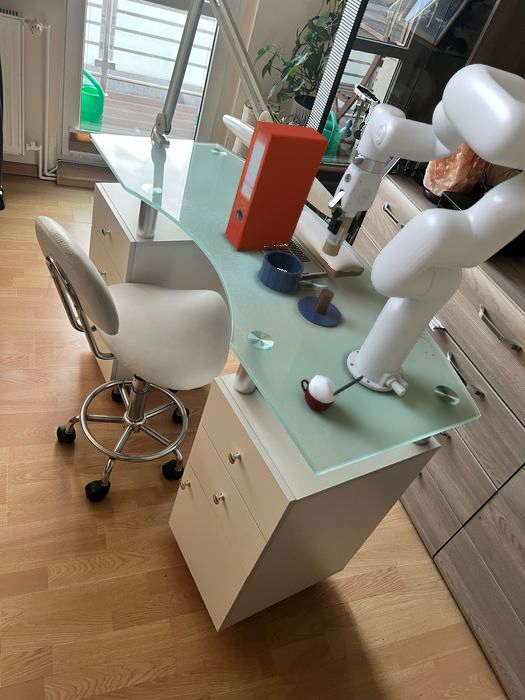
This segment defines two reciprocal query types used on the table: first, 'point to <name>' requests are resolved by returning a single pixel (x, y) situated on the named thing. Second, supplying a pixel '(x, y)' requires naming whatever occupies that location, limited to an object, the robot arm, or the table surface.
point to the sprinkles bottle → (338, 235)
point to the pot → (278, 278)
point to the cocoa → (323, 391)
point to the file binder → (274, 185)
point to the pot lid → (320, 309)
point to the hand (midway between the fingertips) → (339, 230)
